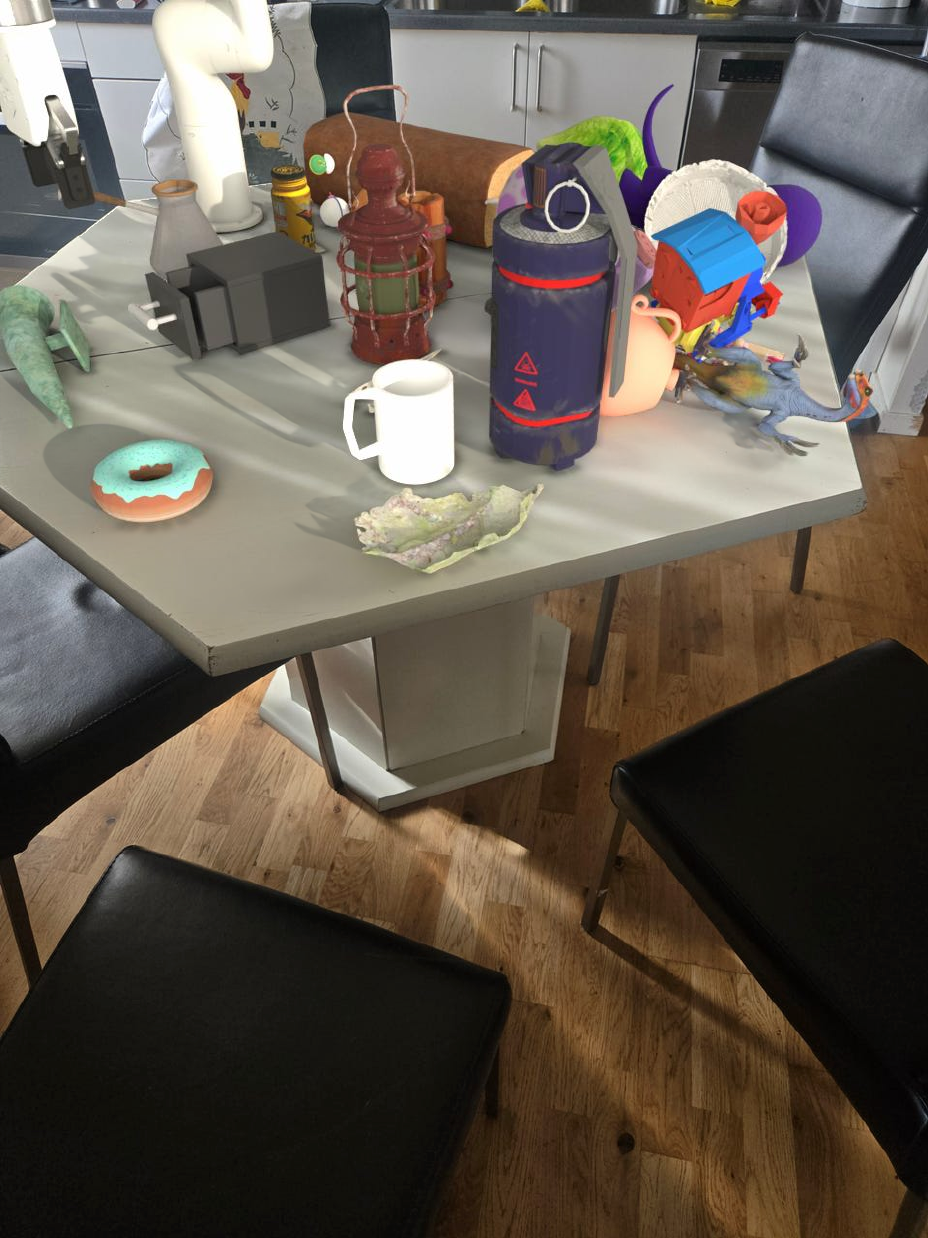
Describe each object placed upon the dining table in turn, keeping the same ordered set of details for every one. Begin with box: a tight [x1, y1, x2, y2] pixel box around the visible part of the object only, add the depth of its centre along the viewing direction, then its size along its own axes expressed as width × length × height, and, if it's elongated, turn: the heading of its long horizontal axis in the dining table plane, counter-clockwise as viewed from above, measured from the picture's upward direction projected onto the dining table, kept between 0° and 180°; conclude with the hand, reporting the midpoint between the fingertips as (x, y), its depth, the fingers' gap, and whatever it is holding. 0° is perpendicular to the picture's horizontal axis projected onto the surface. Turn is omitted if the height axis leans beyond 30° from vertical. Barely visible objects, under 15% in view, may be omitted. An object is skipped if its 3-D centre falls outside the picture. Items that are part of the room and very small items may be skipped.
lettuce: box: [536, 115, 648, 185], centre depth 150 cm, size 15×22×15 cm, turn 54°
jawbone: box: [347, 348, 442, 414], centre depth 110 cm, size 17×5×2 cm, turn 148°
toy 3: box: [619, 83, 823, 268], centre depth 135 cm, size 21×24×30 cm
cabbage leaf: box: [354, 482, 545, 574], centre depth 85 cm, size 16×8×15 cm
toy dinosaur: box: [672, 319, 874, 457], centre depth 102 cm, size 11×22×20 cm
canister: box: [488, 142, 638, 472], centre depth 89 cm, size 14×12×30 cm
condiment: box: [269, 164, 327, 254], centre depth 139 cm, size 7×8×12 cm
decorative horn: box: [0, 284, 91, 430], centre depth 109 cm, size 7×11×30 cm
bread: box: [302, 111, 536, 249], centre depth 150 cm, size 16×39×13 cm, turn 54°
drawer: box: [127, 265, 236, 361], centre depth 115 cm, size 16×10×8 cm, turn 128°
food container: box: [644, 159, 788, 285], centre depth 127 cm, size 20×20×7 cm
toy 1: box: [309, 154, 350, 233], centre depth 147 cm, size 6×12×8 cm
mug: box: [350, 188, 454, 308], centre depth 124 cm, size 15×8×15 cm, turn 71°
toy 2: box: [495, 164, 657, 312], centre depth 121 cm, size 17×23×30 cm
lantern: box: [335, 84, 436, 365], centre depth 107 cm, size 12×12×30 cm
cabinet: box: [186, 230, 331, 355], centre depth 119 cm, size 14×12×10 cm
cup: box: [342, 358, 455, 485], centre depth 93 cm, size 8×12×10 cm
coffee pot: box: [57, 179, 224, 281], centre depth 128 cm, size 21×12×15 cm, turn 114°
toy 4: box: [675, 326, 786, 366], centre depth 110 cm, size 7×6×15 cm
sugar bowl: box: [599, 293, 681, 417], centre depth 101 cm, size 12×14×10 cm
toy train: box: [649, 191, 787, 364], centre depth 100 cm, size 10×16×15 cm, turn 118°
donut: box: [90, 438, 214, 523], centre depth 91 cm, size 12×12×4 cm
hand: (64, 194), depth 99 cm, fingers open, 9 cm apart
